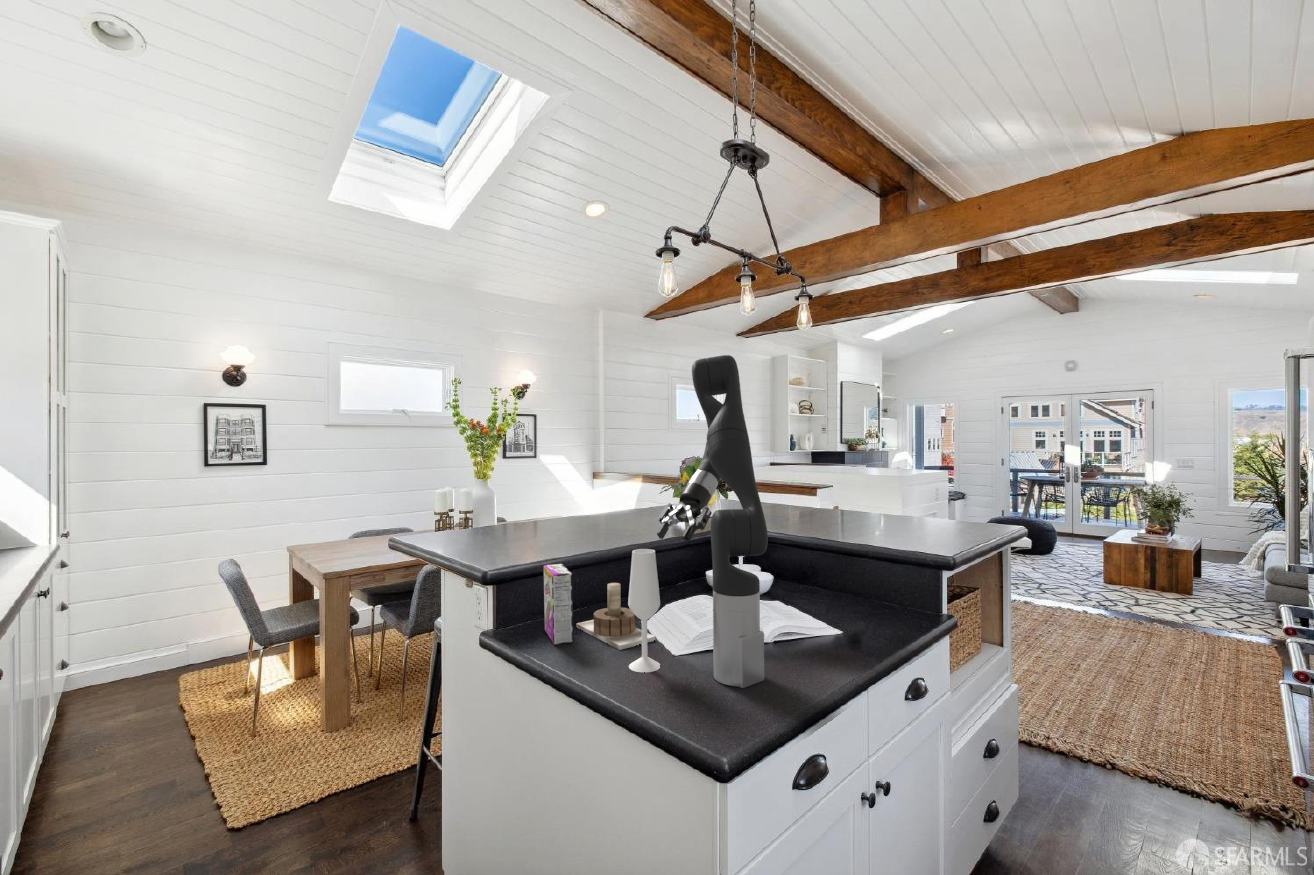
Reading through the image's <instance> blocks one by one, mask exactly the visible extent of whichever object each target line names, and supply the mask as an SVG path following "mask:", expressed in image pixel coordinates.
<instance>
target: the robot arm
mask: <svg viewBox="0 0 1314 875" xmlns="http://www.w3.org/2000/svg"><path fill="white" fill-rule="evenodd" d="M739 373H740V372H739V368H738V364H737V361H736V359H735V357H734V356H732V355H729V354H725V355H719V356H718V355H716V356H710V357H707V358H706V357H704V358H700V359H697V360H695V361H693V363H692V365H691V377H692V383H693V389H694V391H695V394H696V398H697V400H698V403H699V405H700V407H701V410H702V412H703V415H704V417H705V420H706V424H707V433H706V443H705V448H704V453H703V455H702V459H701V462H700V464H699V465H698V467H697V468H696V470H695V472H694V473H693V474H692V475H691V477H690V478H689V480H688V481H687V483H686V485H685V487H684V488H683V490H682V492H680V496H679V502H678V503H677V504H676V505H673V504H672V503H671V502H670V503H667V504H666V506H664V509H663V510H662V512H661V513H660V515H659V516H658V518H657V520H658V521H659V523H660V526H659V527H658V529H657V531H656V536H657V537H658V538H659V539H660V540H663V539H664V538H665V536H666V535H667V533H668V531H669V529H670V528H671V527H672V526H673V525H677V524H680V523H687V524H689V525H687V527H686V528H685V531H684V532H683V534H682V536H681V538H682V540H683V541H684V543H689V541H691V540H692V538H693V536H694V535H695V532H697V531H698V530H701V531H704V530H705V528H706V526H707V524H708V522H709V520H710V518H711V520H710V543H711V544H710V545H711V557H712V558H711V560H712V562H711V563H712V634H713V635H712V643H713V644H712V650H713V651H712V652H713V654H712V655H713V656H712V658H713V659H712V660H713V668H712V669H713V679H715V680H716V681H717V682H718V683H721V684H722V685H727V686H731V687H738V688H741V689H744V688H747V687H750V686H752V685H756V684H758V683H760V682H764V681H765V633H764V631H763V630H761V618H760V617H761V613H760V612H761V611H760V610H761V609H760V608H761V607H760V606H761V600H760V598H761V594H760V593H761V592H760V591H761V590H760V588H761V587H760V586H761V585H760V583H761V582H760V579H759V577H758V575H757V574H754V573H753V572H750V571H747V570H743V569H741V568H738V567H737V566H735V565H733V564H732V563H731V561H730V557H758V556H761V555H763V554H764V553H766V552H767V548H768V542H769V536H768V526H767V523H766V522H767V521H766V519H765V513H764V509H763V505H762V502H761V498H760V494H759V490H758V486H757V482H756V477H755V471H754V465H753V457H752V451H751V450H752V449H751V448H752V447H751V442H750V439H749V438H750V437H749V433H748V428H747V424H746V419H745V413H744V410H743V402H742V392H741V391H742V390H741V382H740V374H739ZM720 395H725V398H724V402H723V403H722V402H721V401H719V400H717V398H715V397H714V396H720ZM721 480H722V481H724V482H725V483H726V484H727V486H728V487H729V488H730V489H731V490H732V491H733V493H734V494H735V496H736V498H737V499H738V501H739V503H740V504H741V508H742V509H741V508H740V509H739V508H738V509H737V508H736V509H735V508H733V509H730V508H729V509H717V510H714V512H712V511H711V509H710V508H709V506H708V505H709V502H711V500H712V497H713V496H714V494H715V492H716V489H717V487H718V485H719V483H720V482H721ZM674 516H675V517H674ZM675 518H676V519H675Z"/></svg>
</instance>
